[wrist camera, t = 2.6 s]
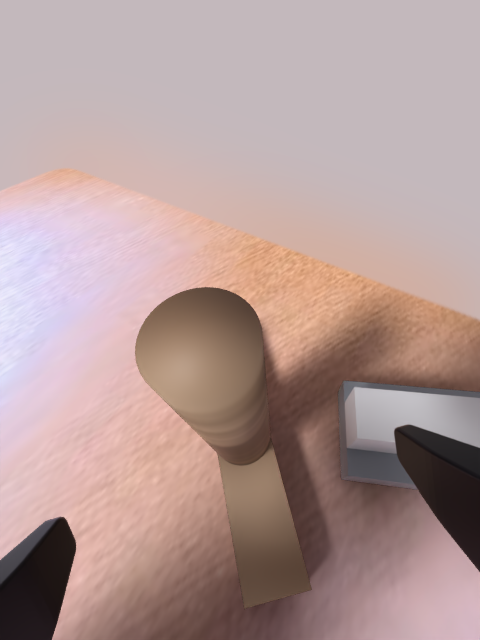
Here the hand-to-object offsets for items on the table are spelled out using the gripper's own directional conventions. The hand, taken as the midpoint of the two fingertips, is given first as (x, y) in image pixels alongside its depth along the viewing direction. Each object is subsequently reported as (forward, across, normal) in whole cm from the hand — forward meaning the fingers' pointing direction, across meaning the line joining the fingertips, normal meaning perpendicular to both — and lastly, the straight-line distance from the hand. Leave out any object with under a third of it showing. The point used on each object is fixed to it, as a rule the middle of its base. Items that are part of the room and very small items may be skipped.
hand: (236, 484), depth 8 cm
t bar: (+10, 0, +5) cm, 11 cm away
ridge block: (+8, -10, +7) cm, 15 cm away
